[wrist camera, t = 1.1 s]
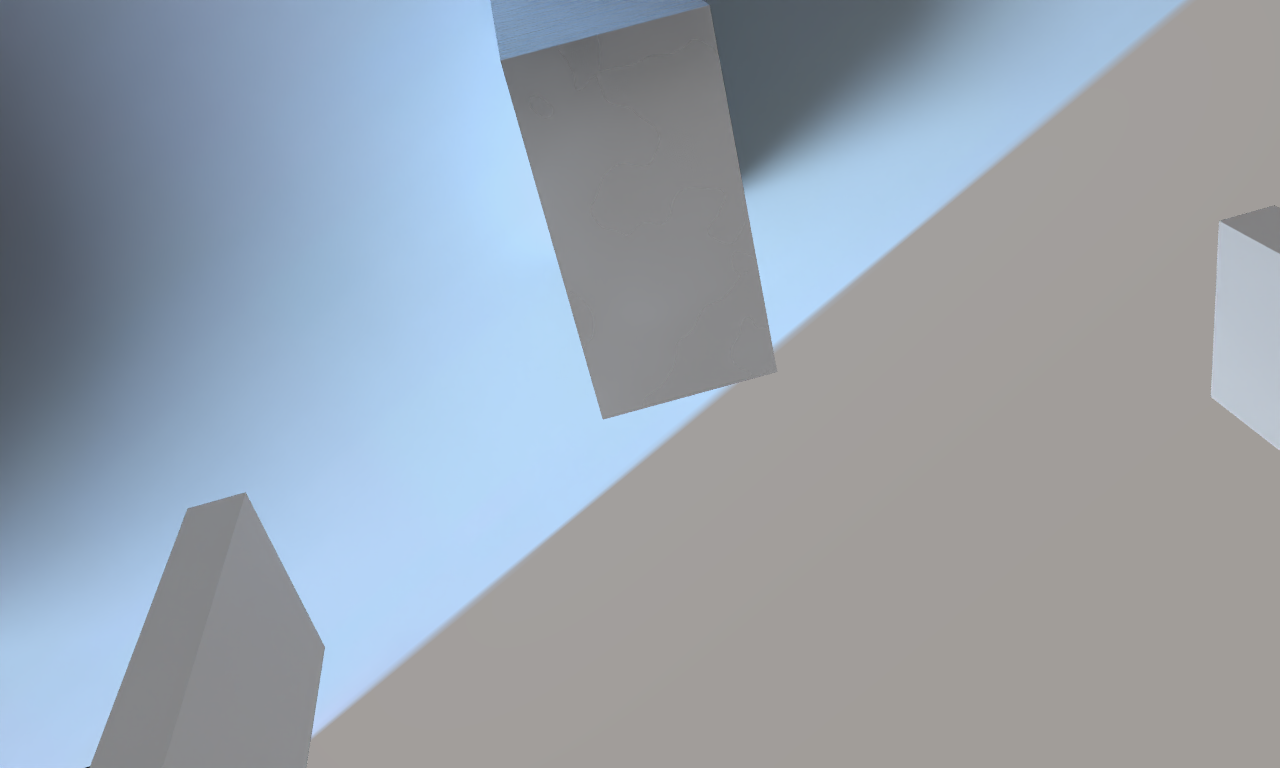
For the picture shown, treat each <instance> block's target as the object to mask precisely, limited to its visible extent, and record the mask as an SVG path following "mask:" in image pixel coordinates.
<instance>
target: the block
mask: <svg viewBox="0 0 1280 768" xmlns="http://www.w3.org/2000/svg"><path fill="white" fill-rule="evenodd" d="M491 6H492V12H493V18H494V24H495V30H496V36H497V42H498V49H499V55H500V61H501V64H502V68H503V71H504V75H505V78H506V82H507V85H508V89H509V92H510V96H511V99H512V103H513V106H514V110H515V113H516V117H517V120H518V124H519V127H520V131H521V134H522V138H523V141H524V145H525V148H526V152H527V155H528V159H529V162H530V166H531V169H532V173H533V176H534V180H535V183H536V187H537V190H538V194H539V197H540V201H541V204H542V208H543V211H544V215H545V218H546V222H547V225H548V229H549V232H550V236H551V239H552V243H553V246H554V250H555V253H556V257H557V260H558V264H559V267H560V271H561V274H562V278H563V281H564V285H565V288H566V292H567V295H568V299H569V302H570V306H571V309H572V313H573V317H574V320H575V324H576V327H577V331H578V334H579V338H580V341H581V345H582V348H583V352H584V355H585V359H586V362H587V366H588V369H589V373H590V376H591V380H592V383H593V387H594V390H595V394H596V397H597V401H598V404H599V408H600V411H601V415H602V418H603V419H606V418H610V417H614V416H617V415H621V414H625V413H628V412H632V411H636V410H639V409H643V408H647V407H650V406H654V405H658V404H661V403H665V402H669V401H672V400H676V399H680V398H683V397H687V396H691V395H694V394H698V393H702V392H705V391H709V390H713V389H716V388H720V387H724V386H727V385H731V384H735V383H738V382H742V381H746V380H749V379H753V378H756V377H760V376H764V375H768V374H771V373H775V372H777V369H776V364H775V358H774V352H773V347H772V342H771V336H770V331H769V325H768V320H767V314H766V309H765V303H764V298H763V293H762V287H761V282H760V276H759V271H758V265H757V260H756V255H755V249H754V244H753V238H752V233H751V227H750V222H749V217H748V211H747V206H746V200H745V195H744V189H743V184H742V178H741V173H740V168H739V162H738V157H737V151H736V146H735V140H734V135H733V130H732V124H731V119H730V113H729V108H728V102H727V97H726V91H725V86H724V81H723V75H722V70H721V64H720V59H719V53H718V48H717V43H716V37H715V32H714V26H713V21H712V15H711V10H710V5H709V4H708V3H706V2H705V1H704V0H491Z"/></svg>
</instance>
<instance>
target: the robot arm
mask: <svg viewBox="0 0 1280 768" xmlns="http://www.w3.org/2000/svg"><path fill="white" fill-rule="evenodd" d="M1211 397H1212V398H1213V399H1214V400H1216V401H1217V402H1218V403H1220V404H1221V405H1222V406H1223V407H1225V408H1226V409H1227V410H1228V411H1230V412H1231V413H1232V414H1234V415H1235V416H1236V417H1237V418H1239V419H1240V420H1241V421H1243V422H1244V423H1245V424H1247V425H1248V426H1249V427H1250V428H1252V429H1253V430H1254V431H1255V432H1257V433H1258V434H1259V435H1261V436H1262V437H1263V438H1264V439H1266V440H1267V441H1268V442H1269V443H1271V444H1272V445H1273V446H1275V447H1276V448H1277V449H1278V450H1280V208H1279V207H1277V206H1275V205H1274V206H1271V207H1267V208H1264V209H1260V210H1256V211H1253V212H1250V213H1246V214H1242V215H1239V216H1235V217H1231V218H1228V219H1224V220H1221V221H1219V235H1218V256H1217V277H1216V300H1215V319H1214V341H1213V362H1212V384H1211ZM324 649H325V647H324V645H323V643H322V641H321V639H320V637H319V635H318V633H317V631H316V629H315V627H314V625H313V623H312V621H311V619H310V617H309V615H308V613H307V611H306V609H305V607H304V606H303V604H302V602H301V600H300V598H299V596H298V594H297V592H296V590H295V588H294V586H293V584H292V582H291V580H290V578H289V576H288V574H287V572H286V570H285V568H284V566H283V564H282V562H281V561H280V559H279V557H278V555H277V553H276V551H275V549H274V547H273V545H272V543H271V541H270V539H269V537H268V535H267V533H266V531H265V529H264V527H263V525H262V523H261V521H260V519H259V517H258V516H257V514H256V512H255V510H254V508H253V506H252V504H251V502H250V500H249V498H248V496H247V494H246V492H245V493H242V494H238V495H235V496H231V497H228V498H224V499H220V500H217V501H213V502H210V503H206V504H202V505H199V506H195V507H192V508H188V509H187V512H186V514H185V517H184V520H183V522H182V525H181V527H180V530H179V533H178V535H177V538H176V541H175V543H174V546H173V549H172V551H171V554H170V557H169V559H168V562H167V564H166V567H165V570H164V572H163V575H162V578H161V580H160V583H159V586H158V588H157V591H156V594H155V596H154V599H153V602H152V604H151V607H150V609H149V612H148V615H147V617H146V620H145V623H144V625H143V628H142V631H141V633H140V636H139V639H138V641H137V644H136V646H135V649H134V652H133V654H132V657H131V660H130V662H129V665H128V668H127V670H126V673H125V676H124V678H123V681H122V684H121V686H120V689H119V691H118V694H117V697H116V699H115V702H114V705H113V707H112V710H111V713H110V715H109V718H108V721H107V723H106V726H105V728H104V731H103V734H102V736H101V739H100V742H99V744H98V747H97V750H96V752H95V755H94V758H93V760H92V763H91V766H89V767H86V768H306V767H307V760H308V753H309V747H310V741H311V734H312V728H313V721H314V715H315V708H316V702H317V695H318V689H319V682H320V675H321V669H322V662H323V656H324Z"/></svg>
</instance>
